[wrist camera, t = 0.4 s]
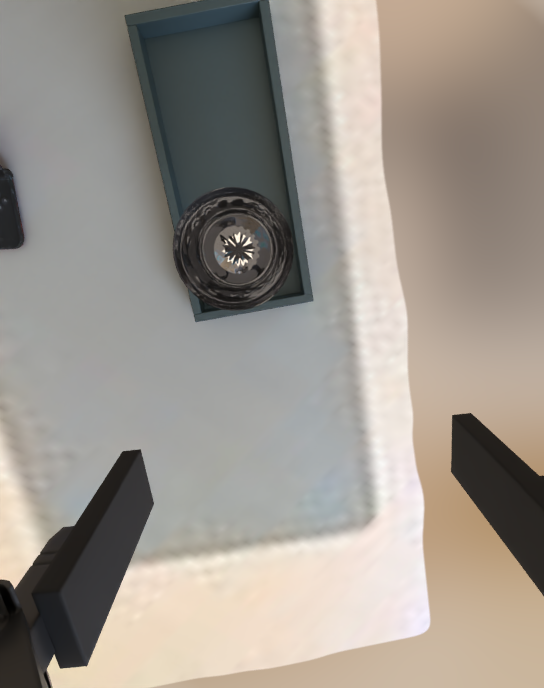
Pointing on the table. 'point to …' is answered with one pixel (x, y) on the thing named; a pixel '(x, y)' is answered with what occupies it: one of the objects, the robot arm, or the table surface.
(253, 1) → the tray
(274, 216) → the wine glass
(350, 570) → the table surface
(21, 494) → the table surface
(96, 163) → the table surface
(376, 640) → the table surface
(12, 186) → the handheld console
